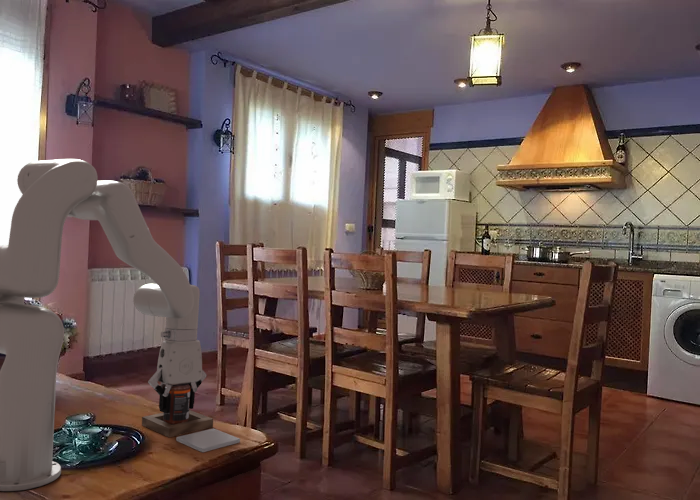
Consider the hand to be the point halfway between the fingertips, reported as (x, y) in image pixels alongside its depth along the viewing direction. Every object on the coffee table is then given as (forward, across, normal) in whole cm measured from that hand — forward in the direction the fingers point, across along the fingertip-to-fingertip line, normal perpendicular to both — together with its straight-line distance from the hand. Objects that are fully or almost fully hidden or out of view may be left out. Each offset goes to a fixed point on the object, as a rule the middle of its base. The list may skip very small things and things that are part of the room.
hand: (176, 409), depth 141 cm
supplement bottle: (+3, 0, 0) cm, 3 cm away
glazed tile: (+4, 0, -14) cm, 15 cm away
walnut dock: (+4, +1, 0) cm, 4 cm away
